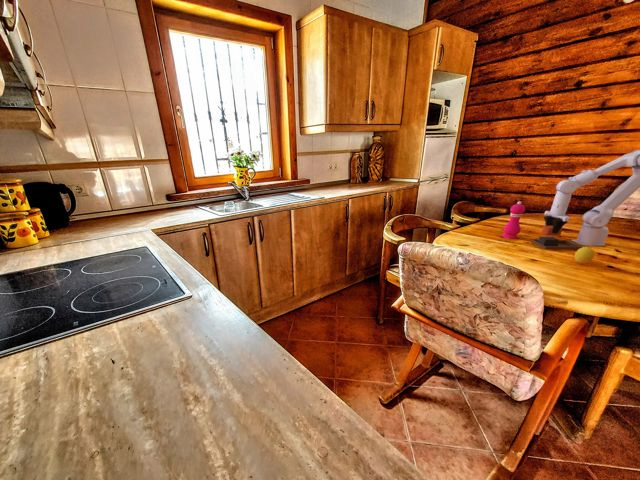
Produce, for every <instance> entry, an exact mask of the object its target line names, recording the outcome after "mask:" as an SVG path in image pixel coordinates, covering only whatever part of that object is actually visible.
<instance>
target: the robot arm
mask: <svg viewBox="0 0 640 480" xmlns="http://www.w3.org/2000/svg"><path fill="white" fill-rule="evenodd" d="M622 167H630V168H631V170H632V175H631V176H630V177H628V178H627V179H626V181H624V182H623V183H622V184H621V185H619V187H618V188H617V189H616V190H614V191H613V193H611V194H610V195H609V196H608V197H607V198H606V199H605V200H604V201H603V202H602V203H601V204H599V205H597V206H594V207H593V208H592V209H590V210H588V211H587V212H585V213H584V214H583V215H582V216H581V219H582V221H583V223H582V224H581V227H580V229H579V231H578V234H577V237H576V239H571V242H573V243H576V244H578V245H581V246H594V247H595V246H596V247H604V246H606V244H605V243H606V241H607V238H608V236H609V233H610V231H609V228H608V227H607V225H608V224H609V222H610V220H611V218H612V217H613V216H614V212H615V210H616V209H617V208H619V207H620V206H621V205H622V204H623V203H624V202H625V201H627V200H628V198H630V197H631V196H632V195H633V194H634V193H635V192H636V191H638V190H639V189H640V149H635V150H633V151H631V152H628V153H625V154H623V155H622V156H619V157H618V158H616V159H614V160H612V161H610V162H608V163H605V164H604V165H602V166H599V167H598V168H595V169H593V170H592V169H588V170H586V169H584V170H582V171H581V173H578V174H576V175H574V176H570V177H568V179H563V180H561V181H559V182H558V183H557V184H556V185H555V189H556V193H555V196H554V199H553V201H552V205H551V208H550V210H545V211H544V216H543V219H544V222H545V223H544V226H553V229H552V233H558V232H559V230H560V229H561V228H563V227H564V226H565V225H566V224H567V223H568V222H570V219H571V217H570V216H568V215H567V214H566V213H567V211H568V207H569V205H570V201H571V198H572V195H573V193H574V192H575V191H577V189H579V188H581V187H583V186H586V185H588V184H590V183H593V182H595V181H596V180H597V179H598V177H599V176H602V175H605V174H607V173H610V172H612V171H614V170H617V169H619V168H622Z"/></svg>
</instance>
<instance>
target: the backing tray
mask: <svg viewBox="0 0 640 480" xmlns="http://www.w3.org/2000/svg"><path fill="white" fill-rule="evenodd" d="M538 240H539V239H532V240H531V242H530V243H531V244H533V245H535V246H537V247H539V248H541V249H542V250H549V251H551V250H552V251H553V250H554V251H557V250H558V251H577V250H578V249H580V248H583V245H580V244H578V243H576V242H573V241H570V240H568V239H559V243H558V246H545V245H543V244H541V243H539V242H538Z"/></svg>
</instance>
